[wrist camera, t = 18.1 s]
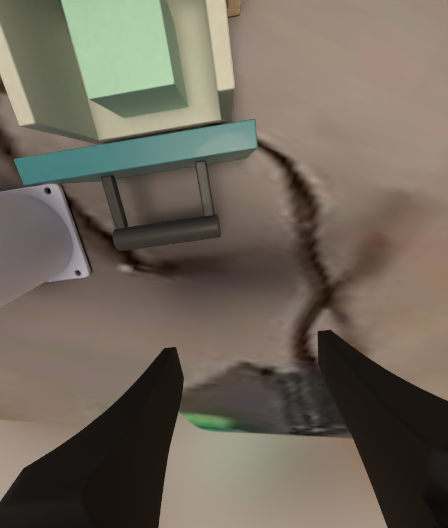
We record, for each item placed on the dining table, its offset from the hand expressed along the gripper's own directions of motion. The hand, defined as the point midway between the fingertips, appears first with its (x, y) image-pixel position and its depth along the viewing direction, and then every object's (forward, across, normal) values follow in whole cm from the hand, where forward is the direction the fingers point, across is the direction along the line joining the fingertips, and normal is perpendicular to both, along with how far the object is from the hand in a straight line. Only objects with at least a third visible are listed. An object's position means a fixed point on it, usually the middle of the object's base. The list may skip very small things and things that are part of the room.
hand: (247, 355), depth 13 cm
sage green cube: (+8, +4, -15) cm, 18 cm away
